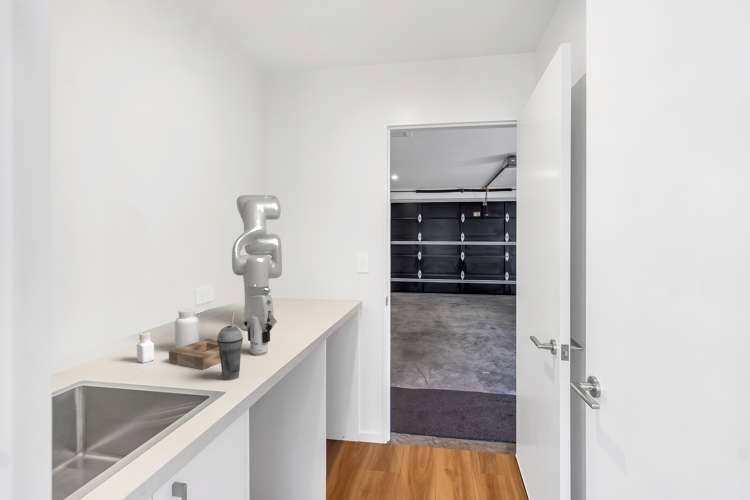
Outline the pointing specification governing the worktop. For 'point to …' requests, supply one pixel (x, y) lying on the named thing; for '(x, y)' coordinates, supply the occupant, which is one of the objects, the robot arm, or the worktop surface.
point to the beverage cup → (230, 350)
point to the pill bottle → (186, 328)
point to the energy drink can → (257, 337)
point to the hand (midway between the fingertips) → (259, 340)
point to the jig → (197, 354)
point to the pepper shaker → (145, 348)
